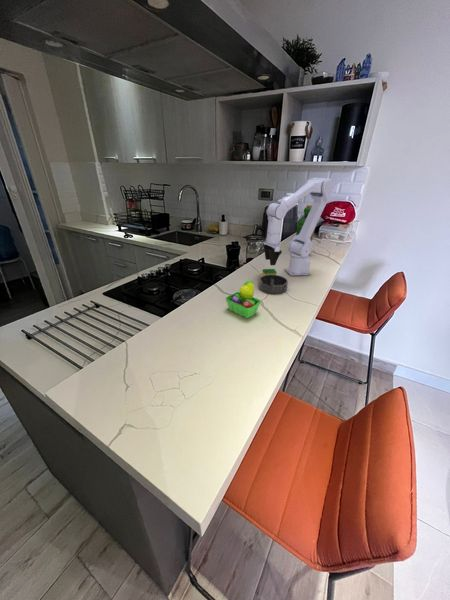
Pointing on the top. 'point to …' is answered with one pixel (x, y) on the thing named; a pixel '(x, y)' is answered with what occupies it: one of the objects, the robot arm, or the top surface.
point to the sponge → (268, 272)
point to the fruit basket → (244, 301)
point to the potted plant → (302, 221)
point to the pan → (273, 284)
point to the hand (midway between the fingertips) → (270, 262)
